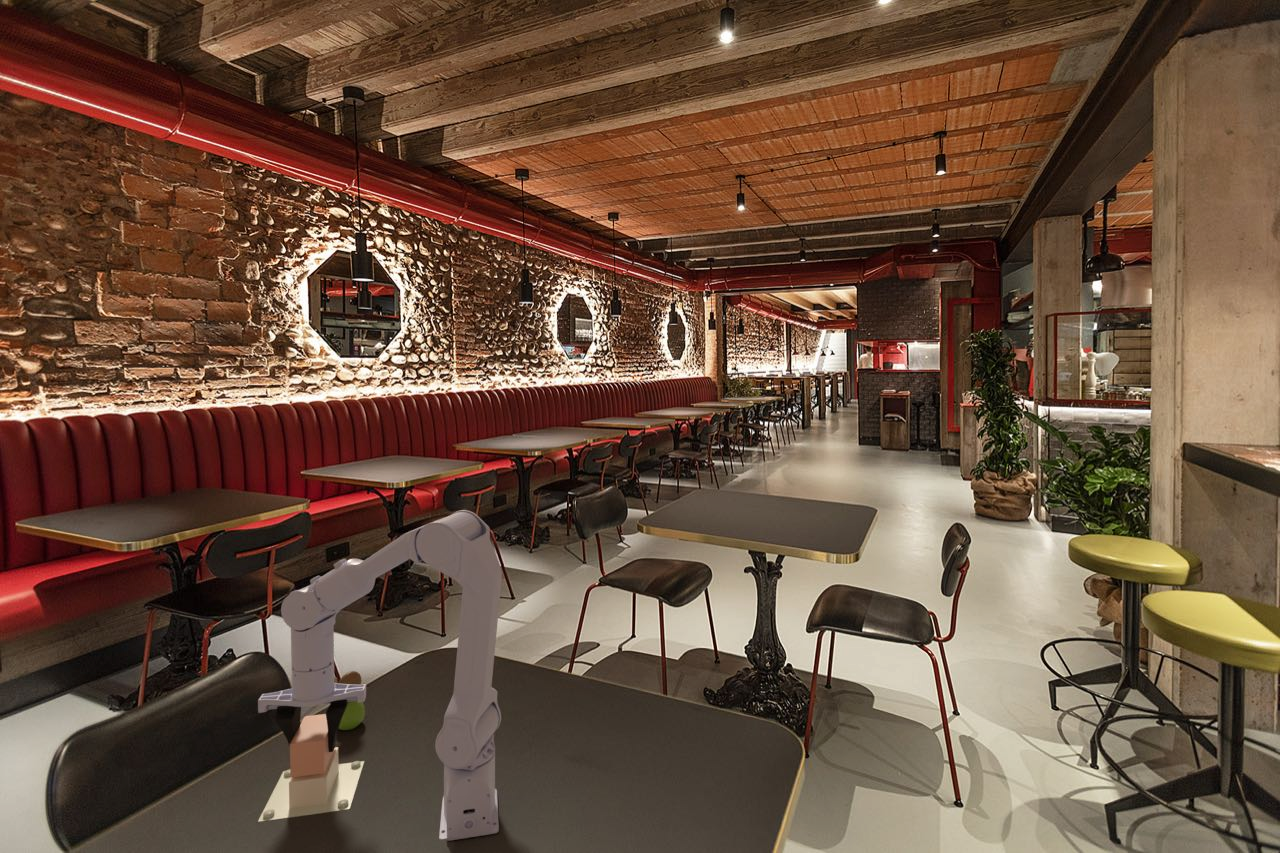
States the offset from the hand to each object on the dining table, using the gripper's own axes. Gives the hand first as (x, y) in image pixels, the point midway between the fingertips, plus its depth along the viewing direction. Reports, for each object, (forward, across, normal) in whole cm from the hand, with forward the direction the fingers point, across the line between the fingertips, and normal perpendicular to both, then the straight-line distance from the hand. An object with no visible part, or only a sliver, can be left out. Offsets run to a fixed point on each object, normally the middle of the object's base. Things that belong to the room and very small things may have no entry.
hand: (314, 750), depth 95 cm
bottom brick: (+6, 0, 0) cm, 6 cm away
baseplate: (+7, 0, 0) cm, 7 cm away
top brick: (+1, 0, 0) cm, 1 cm away
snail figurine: (+7, -1, -18) cm, 19 cm away
